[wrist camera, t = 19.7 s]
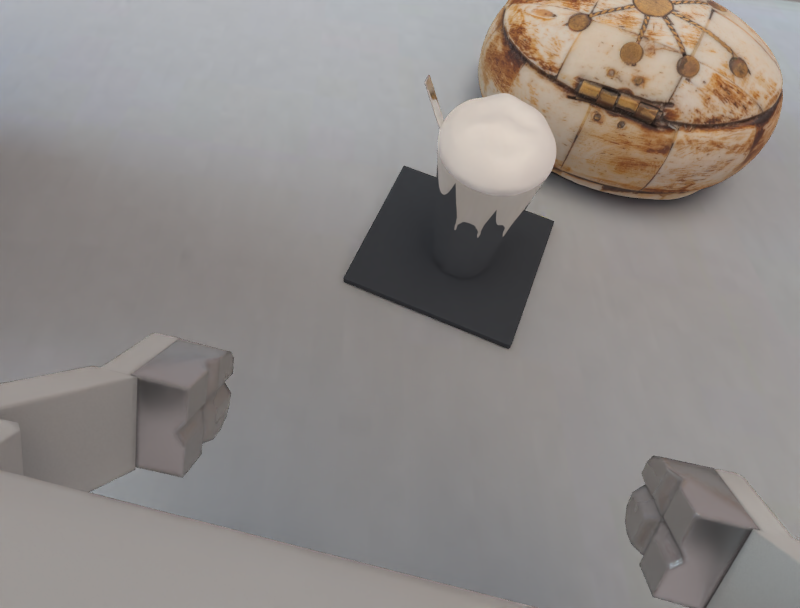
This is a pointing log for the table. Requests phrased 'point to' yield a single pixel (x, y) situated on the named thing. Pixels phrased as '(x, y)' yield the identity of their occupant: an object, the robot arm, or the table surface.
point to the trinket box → (638, 89)
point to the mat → (424, 279)
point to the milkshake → (485, 176)
